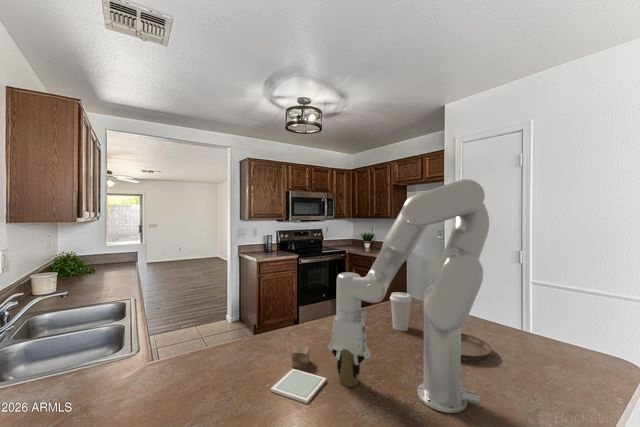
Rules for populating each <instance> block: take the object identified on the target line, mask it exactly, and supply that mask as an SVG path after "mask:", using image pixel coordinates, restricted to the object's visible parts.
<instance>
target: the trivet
mask: <svg viewBox="0 0 640 427" xmlns="http://www.w3.org/2000/svg"><path fill="white" fill-rule="evenodd" d="M326 382H327V378H326V377H323V376H320V375H316V374H313V373H310V372H306V371H302V370H299V369H297V368H296V369H295V368H292V369H291V370H290V371H289V372H287V373H286V374H285V375H284V376H282V378H281V379H280V380H279V381H277V382H276V383H275V384H274V385H273V386H272V387H271V388H270V392H272V393H275V394H278V395H280V396H284V397H287V398H289V399H292V400H295V401H297V402H301V403H304V404H305V405H306V404H308V403H309V402H310V401H311V400H312V399H313V398H314V396H315V395H316V394H317V393H318V392H319V390H320V389H321V388H322V387H323V386H324V384H326Z"/></svg>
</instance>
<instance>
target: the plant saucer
mask: <svg viewBox="0 0 640 427" xmlns="http://www.w3.org/2000/svg"><path fill="white" fill-rule="evenodd" d="M491 353H492V347H491V345H490V344H489V343H488V342H486V341H485V340H483V339H481V338H478V337H477V336H476V337H475V336H473V335H470V334H466V333H463V332H461V361H468V362H473V361H480V360H483V359H484V358H486V357H487V356H489V355H490V354H491Z"/></svg>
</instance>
